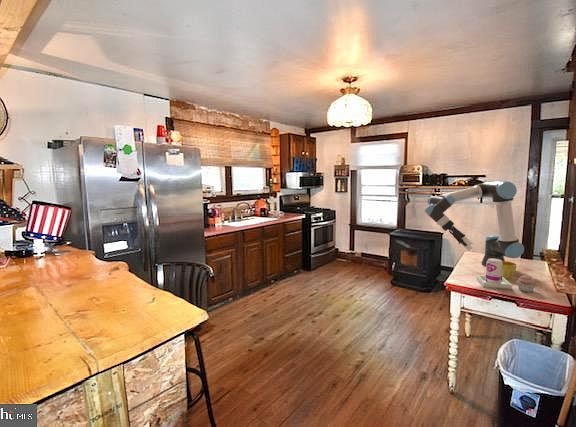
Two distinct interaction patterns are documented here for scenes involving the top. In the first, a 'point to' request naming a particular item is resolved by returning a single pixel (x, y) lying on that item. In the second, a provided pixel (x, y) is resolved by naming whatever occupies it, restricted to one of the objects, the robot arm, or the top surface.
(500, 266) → the supplement can
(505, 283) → the dish
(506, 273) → the plant pot
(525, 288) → the cupcake
